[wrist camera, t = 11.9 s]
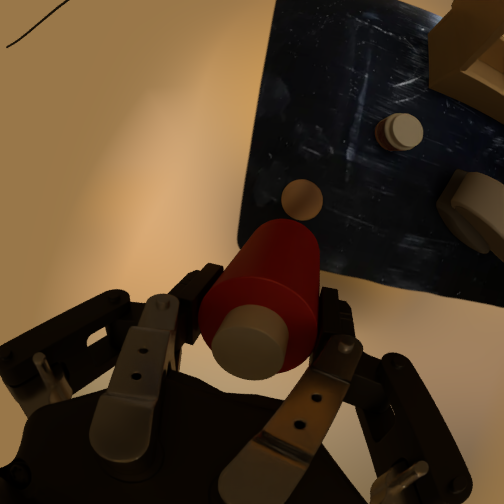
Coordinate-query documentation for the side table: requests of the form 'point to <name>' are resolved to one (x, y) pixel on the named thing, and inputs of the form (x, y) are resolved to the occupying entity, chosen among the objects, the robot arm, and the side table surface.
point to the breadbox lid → (476, 28)
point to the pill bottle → (399, 132)
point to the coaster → (302, 199)
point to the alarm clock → (474, 211)
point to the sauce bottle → (265, 303)
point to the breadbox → (474, 78)
